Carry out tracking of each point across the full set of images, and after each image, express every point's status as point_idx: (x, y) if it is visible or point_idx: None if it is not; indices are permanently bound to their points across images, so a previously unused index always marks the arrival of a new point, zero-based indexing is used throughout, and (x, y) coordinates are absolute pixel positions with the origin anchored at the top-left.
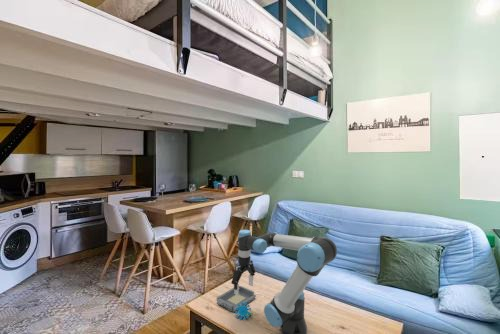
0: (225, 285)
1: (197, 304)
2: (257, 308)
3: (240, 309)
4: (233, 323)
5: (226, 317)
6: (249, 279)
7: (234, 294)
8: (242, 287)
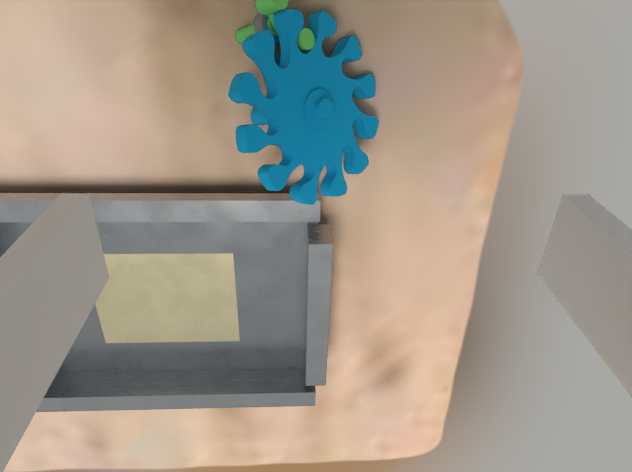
0: (91, 461)
1: (403, 432)
2: (88, 60)
3: (324, 143)
4: (445, 101)
5: (408, 204)
6: (52, 354)
7: (132, 350)
8: None
